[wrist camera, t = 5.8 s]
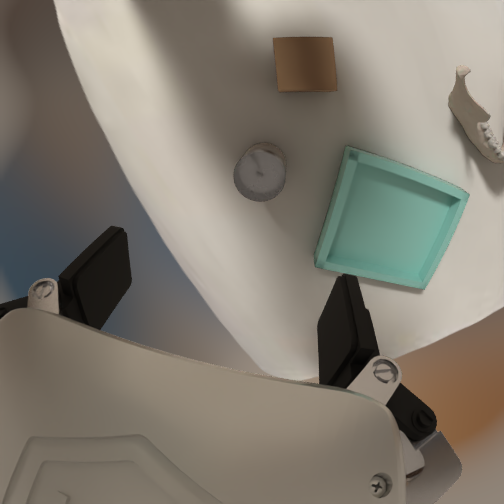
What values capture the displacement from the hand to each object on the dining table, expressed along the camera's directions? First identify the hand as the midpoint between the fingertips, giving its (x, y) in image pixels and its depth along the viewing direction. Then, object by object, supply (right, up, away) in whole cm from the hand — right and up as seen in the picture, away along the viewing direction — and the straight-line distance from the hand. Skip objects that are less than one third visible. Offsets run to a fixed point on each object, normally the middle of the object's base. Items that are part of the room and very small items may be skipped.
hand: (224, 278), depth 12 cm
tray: (+18, +5, +18) cm, 26 cm away
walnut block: (+6, +19, +11) cm, 23 cm away
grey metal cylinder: (+2, +11, +17) cm, 20 cm away
